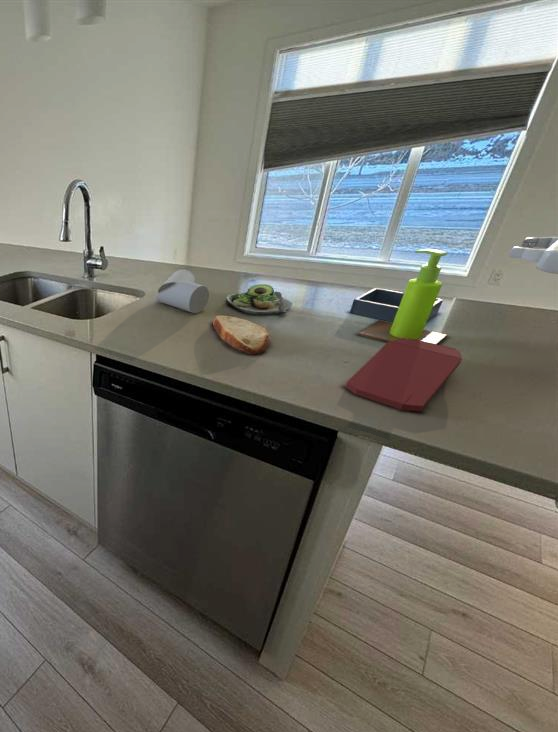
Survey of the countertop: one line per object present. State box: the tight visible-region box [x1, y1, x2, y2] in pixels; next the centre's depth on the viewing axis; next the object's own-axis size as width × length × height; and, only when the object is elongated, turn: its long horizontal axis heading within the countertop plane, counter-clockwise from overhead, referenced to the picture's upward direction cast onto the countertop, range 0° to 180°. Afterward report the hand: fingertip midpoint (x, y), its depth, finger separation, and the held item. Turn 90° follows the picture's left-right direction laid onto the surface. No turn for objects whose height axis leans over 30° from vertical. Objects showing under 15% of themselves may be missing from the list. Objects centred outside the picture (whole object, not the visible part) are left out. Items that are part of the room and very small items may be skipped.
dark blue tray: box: [349, 287, 444, 323], centre depth 110 cm, size 16×14×4 cm
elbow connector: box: [155, 269, 210, 314], centre depth 130 cm, size 18×10×20 cm
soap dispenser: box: [390, 248, 448, 339], centre depth 94 cm, size 6×7×20 cm
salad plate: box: [225, 283, 294, 316], centre depth 122 cm, size 19×18×5 cm
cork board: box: [357, 319, 448, 345], centre depth 99 cm, size 14×12×1 cm
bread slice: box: [212, 315, 272, 355], centre depth 105 cm, size 18×18×4 cm
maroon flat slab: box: [345, 338, 463, 412], centre depth 82 cm, size 12×5×25 cm
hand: (517, 246), depth 81 cm, fingers open, 8 cm apart
